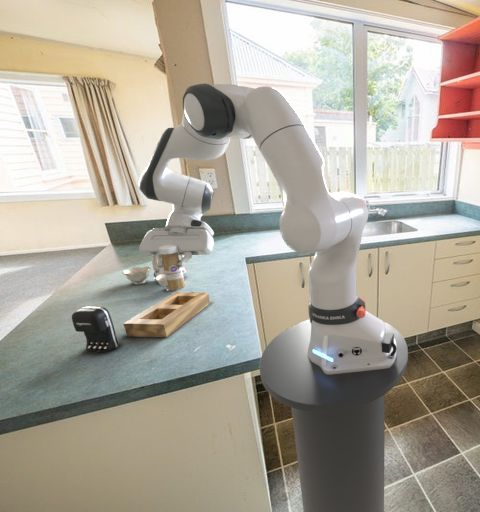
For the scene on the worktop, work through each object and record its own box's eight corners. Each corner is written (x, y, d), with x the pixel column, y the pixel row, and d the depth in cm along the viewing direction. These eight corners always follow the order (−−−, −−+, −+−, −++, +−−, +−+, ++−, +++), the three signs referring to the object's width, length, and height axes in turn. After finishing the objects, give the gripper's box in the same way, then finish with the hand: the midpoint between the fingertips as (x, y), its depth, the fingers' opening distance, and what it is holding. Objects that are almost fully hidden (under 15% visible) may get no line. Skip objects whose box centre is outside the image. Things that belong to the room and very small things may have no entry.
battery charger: (80, 353, 73) (65, 312, 70) (95, 344, 77) (82, 305, 74) (107, 354, 73) (93, 313, 70) (121, 345, 77) (108, 306, 73)
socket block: (210, 303, 99) (207, 292, 98) (166, 337, 80) (163, 324, 79) (177, 303, 100) (175, 292, 98) (127, 336, 81) (123, 323, 80)
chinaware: (117, 290, 113) (99, 250, 106) (157, 271, 128) (144, 234, 121) (176, 298, 107) (162, 256, 100) (211, 277, 121) (200, 239, 115)
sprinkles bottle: (172, 292, 89) (162, 249, 85) (165, 288, 91) (155, 246, 87) (188, 286, 92) (179, 245, 88) (181, 283, 95) (172, 243, 91)
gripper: (142, 223, 92) (126, 263, 85) (210, 222, 93) (200, 261, 87) (155, 233, 97) (141, 271, 91) (219, 232, 99) (210, 270, 92)
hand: (170, 266), depth 89 cm, fingers closed on sprinkles bottle, 4 cm apart
